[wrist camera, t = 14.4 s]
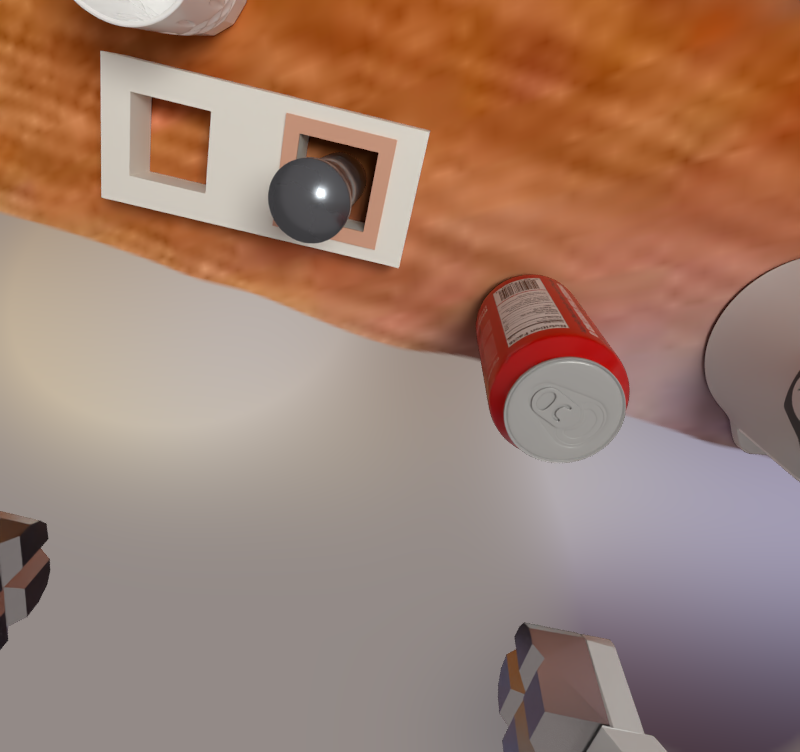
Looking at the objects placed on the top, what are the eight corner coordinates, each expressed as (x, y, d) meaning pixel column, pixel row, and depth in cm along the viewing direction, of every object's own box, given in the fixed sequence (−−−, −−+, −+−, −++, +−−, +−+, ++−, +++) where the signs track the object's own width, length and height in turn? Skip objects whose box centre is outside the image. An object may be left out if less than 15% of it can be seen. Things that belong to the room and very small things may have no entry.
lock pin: (377, 154, 39) (356, 169, 29) (365, 217, 41) (341, 251, 31) (315, 138, 39) (273, 148, 29) (306, 202, 41) (263, 233, 31)
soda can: (521, 249, 42) (562, 316, 28) (598, 311, 43) (672, 403, 30) (454, 328, 45) (461, 423, 31) (528, 383, 46) (566, 497, 33)
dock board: (430, 130, 39) (429, 132, 36) (401, 257, 42) (398, 268, 40) (124, 54, 38) (98, 50, 35) (123, 191, 42) (99, 197, 39)
